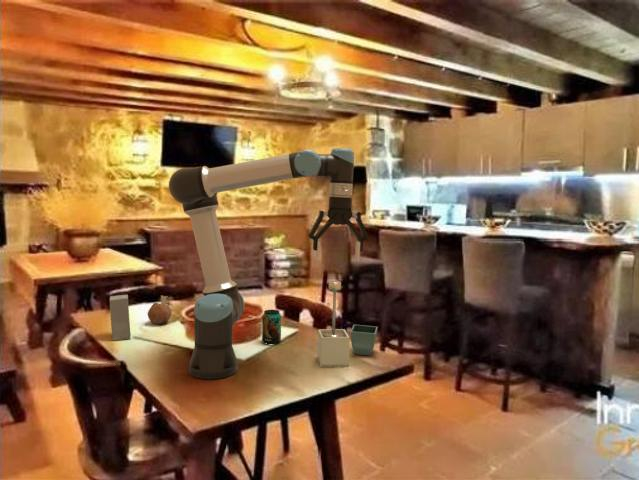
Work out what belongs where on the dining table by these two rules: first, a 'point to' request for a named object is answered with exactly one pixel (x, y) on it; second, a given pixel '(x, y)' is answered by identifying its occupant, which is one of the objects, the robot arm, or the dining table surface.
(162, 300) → the architectural model
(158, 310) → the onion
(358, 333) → the flower pot
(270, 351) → the dining table surface
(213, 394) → the dining table surface
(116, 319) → the skincare box
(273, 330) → the beverage can
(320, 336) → the cream square planter
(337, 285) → the plunger
